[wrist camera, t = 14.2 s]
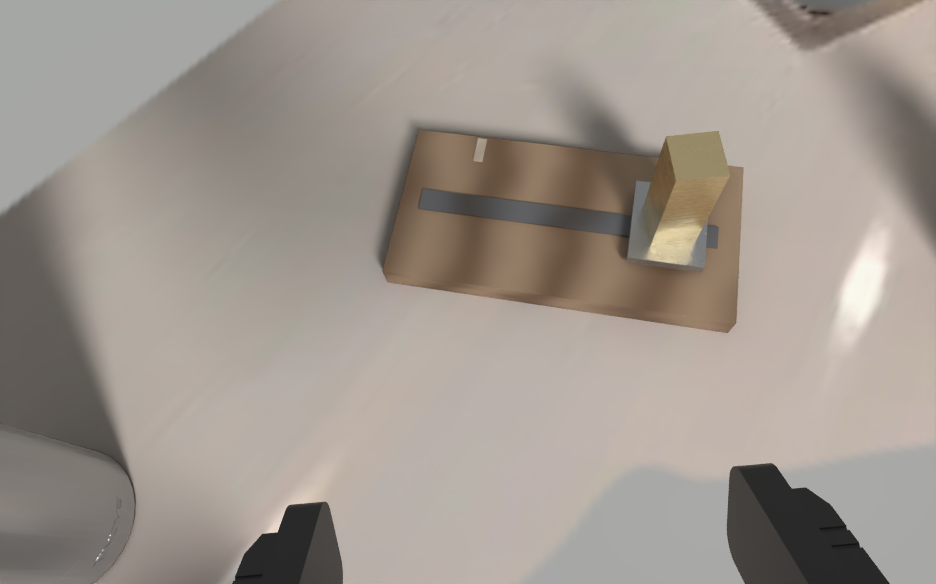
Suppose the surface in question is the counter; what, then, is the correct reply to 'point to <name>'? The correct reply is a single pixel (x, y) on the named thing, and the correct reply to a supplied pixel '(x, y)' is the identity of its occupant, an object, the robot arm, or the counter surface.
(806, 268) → the counter surface
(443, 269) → the fader board
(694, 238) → the fader lever
